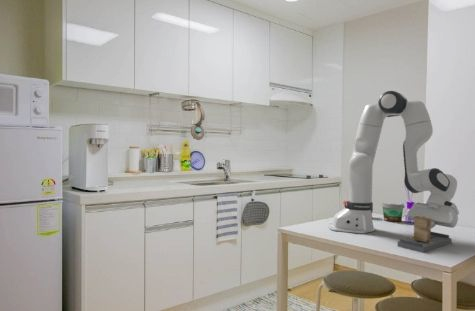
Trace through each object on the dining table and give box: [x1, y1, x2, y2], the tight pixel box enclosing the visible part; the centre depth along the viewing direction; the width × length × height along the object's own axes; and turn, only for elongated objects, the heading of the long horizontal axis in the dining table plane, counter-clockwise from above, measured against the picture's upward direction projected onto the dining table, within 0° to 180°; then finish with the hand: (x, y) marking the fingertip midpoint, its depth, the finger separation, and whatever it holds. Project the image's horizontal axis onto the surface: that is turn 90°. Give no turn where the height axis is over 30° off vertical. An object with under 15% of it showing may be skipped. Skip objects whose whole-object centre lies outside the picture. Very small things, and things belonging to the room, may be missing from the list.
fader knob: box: [413, 216, 432, 242], centre depth 161 cm, size 4×5×10 cm
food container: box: [381, 202, 405, 223], centre depth 207 cm, size 12×6×10 cm, turn 87°
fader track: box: [397, 231, 452, 253], centre depth 163 cm, size 25×11×3 cm, turn 127°
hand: (425, 230), depth 162 cm, fingers closed, pressing on fader knob
